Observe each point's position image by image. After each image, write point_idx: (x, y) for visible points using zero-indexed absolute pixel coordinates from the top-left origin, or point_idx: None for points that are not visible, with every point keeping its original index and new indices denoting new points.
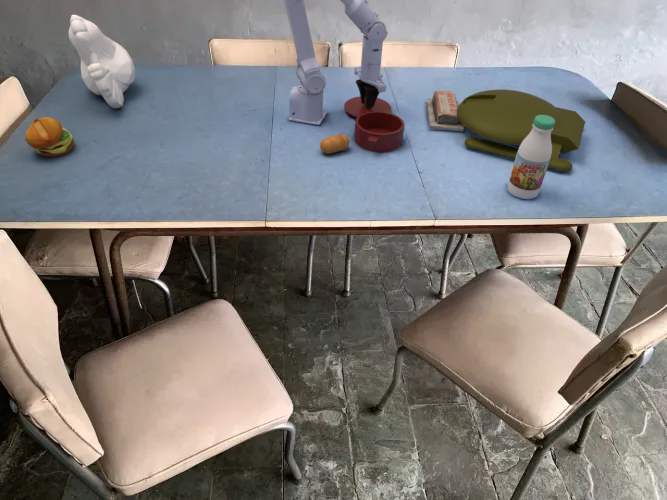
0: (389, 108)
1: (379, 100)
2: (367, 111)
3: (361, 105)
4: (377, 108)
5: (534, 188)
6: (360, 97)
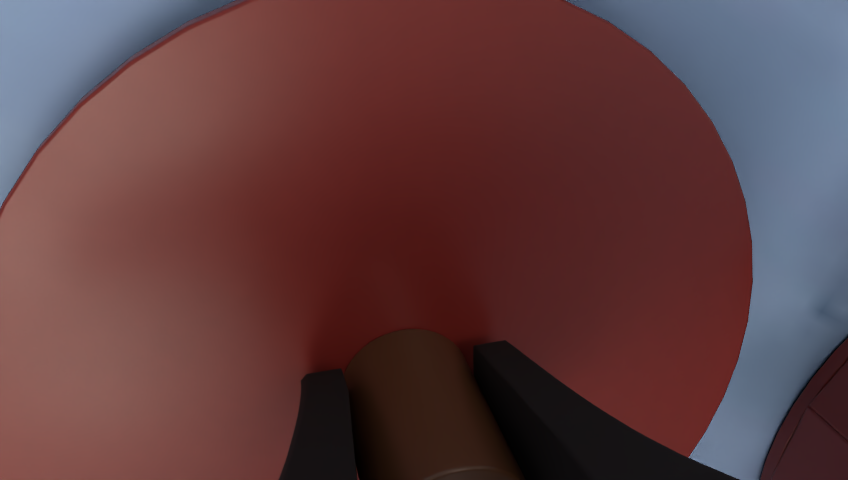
0: (622, 73)
1: (251, 98)
2: None
3: None
4: (522, 264)
5: None
6: (19, 388)
